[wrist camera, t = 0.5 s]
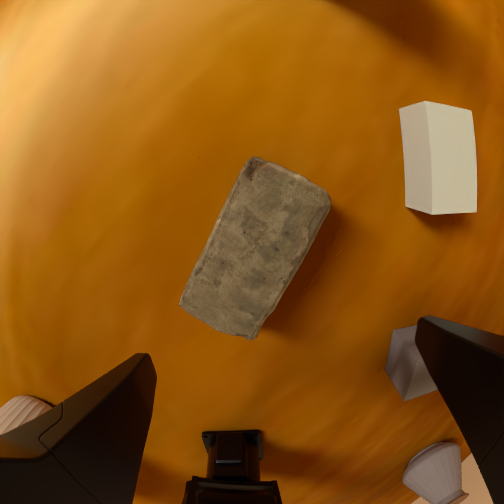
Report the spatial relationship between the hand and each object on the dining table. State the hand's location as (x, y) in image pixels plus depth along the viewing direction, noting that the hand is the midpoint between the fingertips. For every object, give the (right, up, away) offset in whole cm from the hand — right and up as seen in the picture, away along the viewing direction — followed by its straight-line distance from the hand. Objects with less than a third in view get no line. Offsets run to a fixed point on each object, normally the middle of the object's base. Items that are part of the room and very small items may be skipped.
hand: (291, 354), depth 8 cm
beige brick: (+13, +11, +11) cm, 21 cm away
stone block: (-1, +4, +13) cm, 14 cm away
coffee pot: (+28, -37, +26) cm, 53 cm away
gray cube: (+15, -6, +16) cm, 23 cm away
